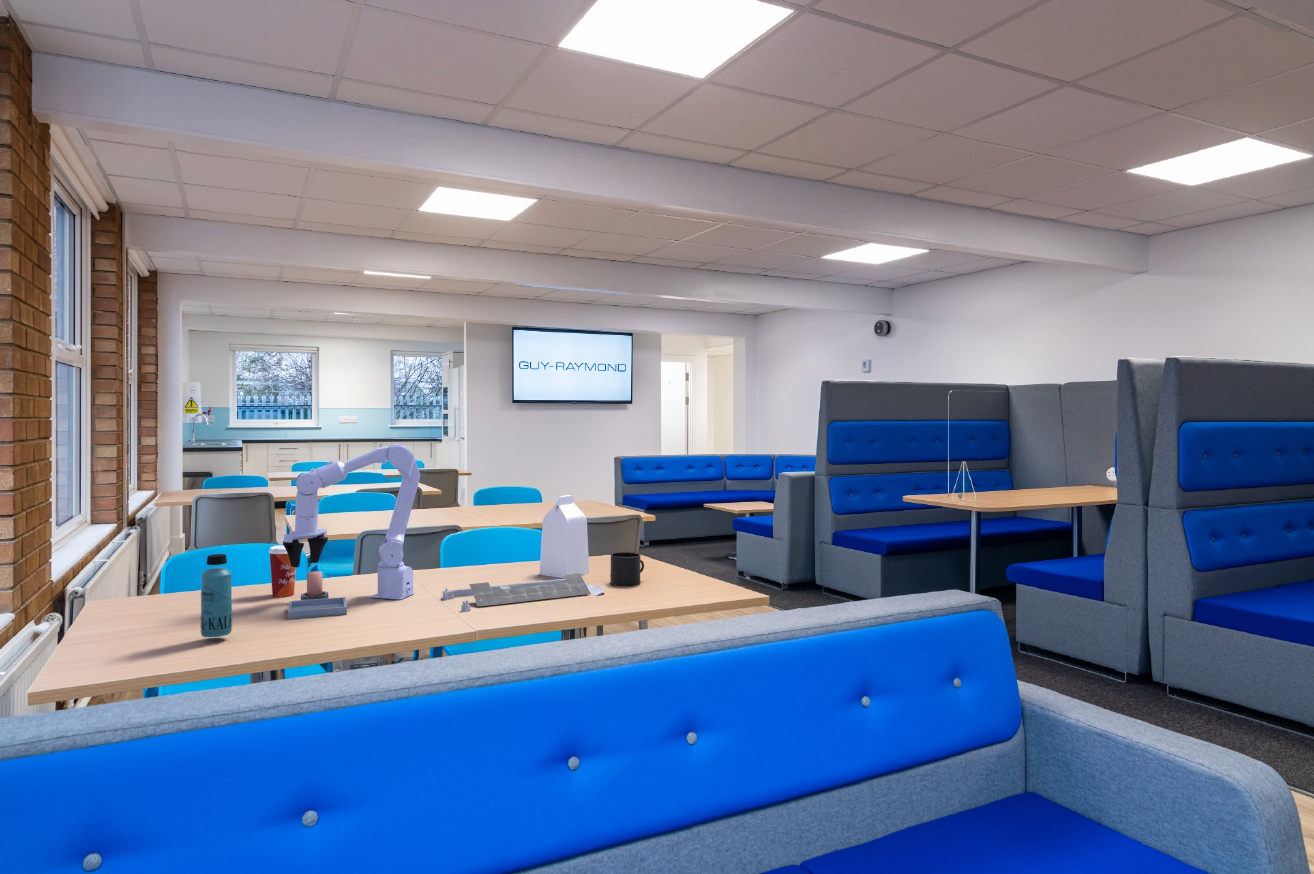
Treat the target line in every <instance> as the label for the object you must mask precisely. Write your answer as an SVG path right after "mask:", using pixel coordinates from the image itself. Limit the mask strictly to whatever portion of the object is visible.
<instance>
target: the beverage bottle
mask: <svg viewBox="0 0 1314 874" xmlns="http://www.w3.org/2000/svg"><path fill="white" fill-rule="evenodd" d="M206 557H207V558H206V565H208V566H220V565H226V564H227V563H228V560H227V559H228V558H227V554H225V553H216V554H209V555H207V556H206ZM200 575H201V576H200V577H201V589H200V614H201V615H200V616H199V617H200V619H199V620H200V624H199V625H200V626H199V627H200V628H199V629H200V634H201V636H202V637H204V638H218V637H224V636H229V635H230V634H231V633H232V630H233V613H232V612H233V599H232V595H233V594H232V592H233V591H232V589H233V588H232V581H233V579H232V576H233V573H232V571H231V570H230V569H228V568H226V567H213V568H207V569H205V571H203V572H202V574H200Z"/></svg>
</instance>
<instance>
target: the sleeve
mask: <svg viewBox="0 0 1314 874" xmlns="http://www.w3.org/2000/svg"><path fill="white" fill-rule="evenodd" d="M326 598H329V592H328V591H323V590H322V595H319V596H307V591H306V592H304V593H301V595H300V600H312V599H326Z"/></svg>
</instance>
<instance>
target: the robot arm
mask: <svg viewBox="0 0 1314 874" xmlns="http://www.w3.org/2000/svg"><path fill="white" fill-rule="evenodd" d="M387 462H389V463H390V464H391V465H392V466H393V467H394V468H396V470H397V472H398V473H399V474H400V476H401V478H402V479H401V483H400V487H399V490H398V494H397V498H396V501H395V505H394V509H393V512H392V516H391V519H390V523H389V527H388V530H387V532H386V534H385V537H384V540H383V542H382V543H381V544H380V545H379V547H378V556H379V558H380V561H379V562H378V563H377V593H375V594H372V595H371V596H370V597H371V598H372V599H373V598H375V599H385V600H386V599H389V600H403V599H405V598H407V597H410V596H412V595H414V594H415V592H414V570H413V568H412V567H411V566H406V565H405V563H404V561H403V560H404V559H403V558H404V551H403V550H404V549H403V548H404V543H405V542H404V541H405V535H406V530H407V527H408V523H409V519H410V517H411V512H412V509H413V505H414V502H415V498H416V494H417V490H418V486H419V483H420V479H421V473H420V470H419V466H418V464H417V461H416V458H415V455H414V454H413V452H412V451H411V450H410V449H409V448H408V447H407V446H405V445H404V444H401V443H398V442H396V443H392V444H390V445H386V446H381V447H378V448H374V449H372V450H370V451H367V452H365V453H363V454H361V455H358V456H356V457H354V458H352V459H350V460H347V461H345V462H341V461H338V460H335V461H333V460H329V461H327V464H326V465H322V466H320V467H317V468H316V469H315V468H311V469H310V472H305V473H302V474H300V475H299V476H298V477H297V479H296V483H295V486H296V489H297V492H296V494H295V495H296V496H295V497H296V500H295V513H294V514H295V517H294V523H295V524H294V530H292V532H290V533H287V534H284V535H283V541H282V545H283V546H284V547H285V549H286V551H287V553H288V556H289V559H290V563H291V567H296V568H300V566H301V564H300V563H301V556H302V552H303V548H304V546H305V543H304V542H300V541H303V540H307V542H308V547H309V561H310V563H313V564H319V562H320V559H321V555H322V552H323V550H324V548H325V546H326V544H327V543H328V541H329V537H327V533H328V529H327V528H318V526H319V524H318V521H319V520H318V519H319V499H318V490H319V489H320V488H321V489H324V488H328V487H329V486H332V485H335V484H336V483H339V482H341V481H345V480H346V478H347V476H348V474H349V473H352V472H354V471H357V470H360V469H362V468H365V467H368V466H370V465H373V464H376V463H377V464H384V465H385V464H387Z"/></svg>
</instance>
